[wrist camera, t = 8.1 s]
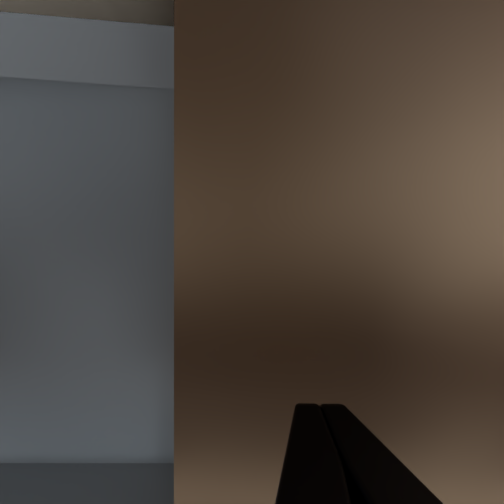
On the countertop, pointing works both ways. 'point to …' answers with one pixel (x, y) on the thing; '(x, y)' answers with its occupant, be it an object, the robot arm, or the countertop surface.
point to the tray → (86, 261)
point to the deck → (338, 237)
